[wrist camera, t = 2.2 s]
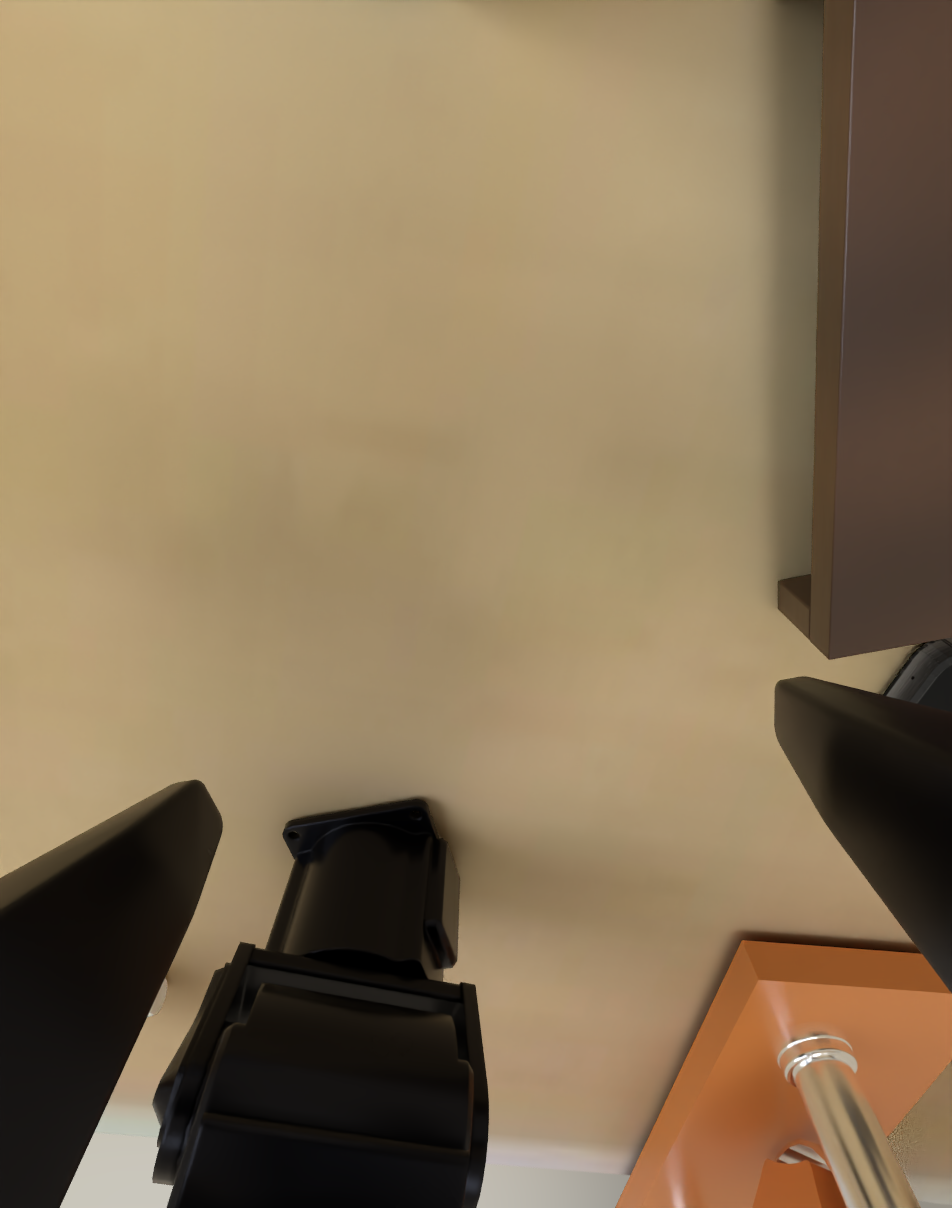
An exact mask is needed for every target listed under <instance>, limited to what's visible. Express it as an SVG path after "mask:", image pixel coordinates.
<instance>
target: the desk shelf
mask: <svg viewBox="0 0 952 1208" xmlns="http://www.w3.org/2000/svg"><path fill="white" fill-rule="evenodd" d="M778 609H779V610H780V611H781V612H782V613H783V614H784V615H785V616H786V617H787V618H788V619H789V620H790V621H791V622H792V623H793V624H794V625H795V626H796V627H797V628H798V629H799V630H800V631H801V632H802V633H803V634H804V635H805V636H806V637H807V638H808V639H809V640H810V642H811V643H812V644H813V645H814V646H815V647H816V648H818V649H819V650H820V651H821V652H822V653H823V654H824V655H825V656H826V657H827V658H828V659H829V660H831V659H836V658H842V657H847V656H853V655H858V654H864V653H869V652H875V651H880V650H886V649H891V648H897V647H902V646H908V645H913V644H918V643H924V642H929V641H935V640H940V639H946V638H951V637H952V0H824V28H823V73H822V119H821V164H820V209H819V254H818V300H817V345H816V390H815V435H814V480H813V526H812V571H811V574H810V575H805V576H800V577H795V578H790V579H785V580H780V581H778Z"/></svg>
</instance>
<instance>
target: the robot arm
mask: <svg viewBox="0 0 952 1208" xmlns="http://www.w3.org/2000/svg"><path fill="white" fill-rule="evenodd" d="M774 726H775V732H776V736H777V739H778V742H779V744H780V746H781V747H782V749H783V751H784V753H785V754H786V756H787V758H788V760H789V761H790V763H791V765H792V767H793V768H794V770H795V772H796V774H797V775H798V777H799V779H800V781H801V783H802V784H803V786H804V788H805V790H806V791H807V793H808V795H809V797H810V798H811V800H812V802H813V804H814V805H815V807H816V809H817V810H818V812H819V814H820V815H821V817H822V819H823V820H824V822H825V823H826V825H827V826H828V828H829V829H830V830H831V832H832V833H833V835H834V836H835V837H836V839H837V840H838V841H839V843H840V844H841V846H842V847H843V848H844V850H845V851H846V852H847V854H848V855H849V856H850V858H851V859H852V860H853V862H854V863H855V864H856V866H857V867H858V868H859V870H860V871H861V872H862V874H863V875H864V876H865V878H866V879H867V880H868V882H869V883H870V885H871V886H872V887H873V889H874V890H875V891H876V893H877V894H878V895H879V897H880V898H881V899H882V901H883V902H884V903H885V905H886V906H887V907H888V909H889V910H890V911H891V913H892V914H893V915H894V917H895V918H896V920H897V921H898V922H899V924H900V925H901V926H902V928H903V929H904V930H905V932H906V933H907V934H908V936H909V937H910V938H911V940H912V941H913V942H914V944H915V945H916V946H917V948H918V949H919V950H920V952H921V953H922V954H923V956H924V957H925V959H926V960H927V961H928V963H929V964H930V965H931V967H932V968H933V969H934V971H935V972H936V973H937V975H938V976H939V977H940V979H941V980H942V981H943V983H944V984H945V985H946V987H947V988H948V989H949V991H950V992H951V993H952V712H949V711H945V710H941V709H937V708H933V707H929V706H925V705H921V704H917V703H913V702H909V701H904V700H900V699H896V698H892V697H888V696H884V695H880V694H876V693H872V692H868V691H864V690H860V689H856V688H851V687H847V686H843V685H839V684H835V683H831V682H827V681H823V680H819V679H815V678H811V677H803V676H802V677H796V678H790V679H784V680H780V681H778V682H777V684H776V686H775V712H774ZM414 811H419V812H414ZM222 828H223V823H222V818H221V815H220V813H219V811H218V809H217V807H216V805H215V803H214V802H213V800H212V798H211V796H210V794H209V792H208V791H207V789H206V787H205V785H204V784H203V783H202V782H201V781H199V780H190V781H184V782H178V783H175V784H172V785H170V786H168V787H166V788H164V789H163V790H161V791H159V792H157V793H155V794H153V795H152V796H150V797H148V798H146V799H144V800H142V801H141V802H139V803H137V804H135V805H133V806H131V807H130V808H128V809H126V810H124V811H122V812H121V813H119V814H117V815H115V816H113V817H111V818H110V819H108V820H106V821H104V822H102V823H100V824H99V825H97V826H95V827H93V828H91V829H89V830H88V831H86V832H84V833H82V834H80V835H78V836H77V837H75V838H73V839H71V840H69V841H67V842H66V843H64V844H62V845H60V846H58V847H56V848H55V849H53V850H51V851H49V852H47V853H46V854H44V855H42V856H40V857H38V858H36V859H35V860H33V861H31V862H29V863H27V864H25V865H24V866H22V867H20V868H18V869H16V870H14V871H13V872H11V873H9V874H7V875H5V876H3V877H2V878H0V1208H60V1205H61V1203H62V1201H63V1199H64V1197H65V1195H66V1192H67V1190H68V1188H69V1186H70V1184H71V1182H72V1179H73V1177H74V1175H75V1173H76V1171H77V1168H78V1166H79V1164H80V1162H81V1159H82V1158H83V1155H84V1153H85V1151H86V1149H87V1146H88V1145H89V1142H90V1140H91V1138H92V1136H93V1134H94V1131H95V1129H96V1127H97V1125H98V1123H99V1121H100V1118H101V1116H102V1114H103V1112H104V1110H105V1107H106V1105H107V1103H108V1101H109V1099H110V1097H111V1094H112V1092H113V1090H114V1088H115V1086H116V1084H117V1081H118V1079H119V1077H120V1075H121V1073H122V1070H123V1068H124V1066H125V1064H126V1062H127V1060H128V1057H129V1055H130V1053H131V1051H132V1049H133V1046H134V1044H135V1042H136V1040H137V1038H138V1036H139V1033H140V1031H141V1029H142V1027H143V1025H144V1023H145V1020H146V1018H147V1016H148V1014H149V1012H150V1009H151V1007H152V1005H153V1003H154V1001H155V999H156V996H157V994H158V992H159V990H160V988H161V986H162V983H163V981H164V979H165V977H166V975H167V972H168V970H169V968H170V966H171V964H172V962H173V959H174V957H175V955H176V953H177V951H178V948H179V946H180V944H181V942H182V940H183V938H184V935H185V933H186V931H187V929H188V926H189V924H190V922H191V920H192V917H193V915H194V912H195V909H196V907H197V904H198V901H199V899H200V896H201V893H202V890H203V887H204V884H205V881H206V878H207V875H208V872H209V870H210V867H211V864H212V861H213V858H214V855H215V852H216V849H217V846H218V843H219V841H220V838H221V834H222ZM293 831H295V832H293ZM296 832H297V833H296ZM282 835H283V838H284V840H285V842H286V844H287V846H288V848H289V850H290V852H291V854H292V856H293V857H294V859H295V862H294V865H293V868H292V871H291V874H290V877H289V880H288V883H287V886H286V889H285V892H284V895H283V898H282V901H281V904H280V907H279V910H278V913H277V916H276V919H275V922H274V925H273V928H272V931H271V934H270V937H269V939H268V942H267V945H266V948H265V949H260V948H255V944H249V943H244V942H240V944H239V946H238V948H237V951H236V953H235V955H234V958H233V960H232V962H231V963H227V962H226V964H225V966H224V968H221V969H219V970H216V971H215V972H214V975H213V977H212V980H211V982H210V985H209V987H208V990H207V992H206V995H205V997H204V1000H203V1002H202V1005H201V1007H200V1009H199V1012H198V1014H197V1016H196V1018H195V1020H194V1022H193V1024H192V1026H191V1028H190V1030H189V1032H188V1033H187V1035H186V1037H185V1039H184V1040H183V1042H182V1044H181V1046H180V1047H179V1049H178V1051H177V1052H176V1054H175V1056H174V1058H173V1059H172V1061H171V1063H170V1065H169V1066H168V1068H167V1070H166V1072H165V1073H164V1075H163V1077H162V1079H161V1081H160V1083H159V1085H158V1088H157V1090H156V1093H155V1096H154V1099H153V1104H152V1105H153V1108H154V1110H155V1113H156V1116H157V1118H158V1121H159V1124H160V1126H161V1128H160V1132H159V1136H158V1140H157V1147H159V1151H158V1154H157V1158H156V1163H155V1167H154V1172H153V1178H152V1179H153V1183H158V1184H166V1185H174V1186H173V1189H172V1192H171V1196H170V1199H169V1202H168V1205H167V1208H476V1206H477V1203H478V1200H479V1197H480V1192H481V1187H482V1182H483V1176H484V1169H485V1163H486V1154H487V1143H488V1125H489V1099H488V1086H487V1077H486V1069H485V1061H484V1053H483V1044H482V1036H481V1028H480V1020H479V1011H478V1003H477V995H476V987H475V985H474V984H468V983H463V982H461V983H460V984H459V985H458V984H453V983H447V982H443V971H444V969H446V968H452V967H453V966H454V965H455V963H456V962H457V954H458V924H459V894H460V877H459V874H458V871H457V868H456V866H455V863H454V860H453V857H452V854H451V851H450V848H449V845H448V842H447V841H445V840H444V839H443V838H439V835H438V832H437V830H436V827H435V824H434V821H433V818H432V815H431V813H430V810H429V807H428V805H427V804H426V803H425V802H424V801H422V800H419V799H414V800H408V801H402V802H396V803H390V804H385V805H379V806H373V807H367V808H361V809H355V810H350V811H344V812H338V813H332V814H326V815H320V816H314V817H309V818H303V819H297V820H292V821H289V822H288V823H287V824H286V826H285V828H284V831H283V834H282Z"/></svg>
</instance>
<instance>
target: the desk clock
mask: <svg viewBox="0 0 952 1208" xmlns="http://www.w3.org/2000/svg"><path fill="white" fill-rule="evenodd" d="M951 1060H952V993H951V992H950V991H949V989H948V988H947V987H946V985H945V984H944V983H943V981H942V980H941V979H940V977H939V976H938V975H937V973H936V972H935V971H934V969H933V968H932V967H931V965H930V964H929V963H928V961H927V960H926V959H925V957H924V956H923V954H917V953H905V952H892V951H879V950H865V949H852V948H838V947H825V946H812V945H798V944H785V943H772V942H758V941H745V940H742V941H741V944H740V946H739V948H738V950H737V952H736V954H735V956H734V958H733V960H732V963H731V965H730V967H729V969H728V971H727V973H726V975H725V977H724V979H723V981H722V984H721V986H720V988H719V990H718V992H717V994H716V996H715V998H714V1000H713V1003H712V1005H711V1007H710V1009H709V1011H708V1013H707V1015H706V1017H705V1019H704V1022H703V1024H702V1026H701V1028H700V1030H699V1032H698V1034H697V1036H696V1038H695V1041H694V1043H693V1045H692V1047H691V1049H690V1051H689V1053H688V1055H687V1057H686V1060H685V1062H684V1064H683V1066H682V1068H681V1070H680V1072H679V1074H678V1076H677V1078H676V1081H675V1083H674V1085H673V1087H672V1089H671V1091H670V1093H669V1095H668V1097H667V1100H666V1102H665V1104H664V1106H663V1108H662V1110H661V1112H660V1114H659V1116H658V1119H657V1121H656V1123H655V1125H654V1127H653V1129H652V1131H651V1133H650V1135H649V1138H648V1140H647V1142H646V1144H645V1146H644V1148H643V1150H642V1152H641V1154H640V1156H639V1159H638V1161H637V1163H636V1165H635V1167H634V1169H633V1171H632V1173H631V1175H630V1178H629V1180H628V1182H627V1184H626V1186H625V1188H624V1190H623V1192H622V1194H621V1197H620V1199H619V1201H618V1203H617V1205H616V1207H615V1208H921V1207H920V1205H919V1203H918V1201H917V1199H916V1197H915V1195H914V1193H913V1191H912V1189H911V1187H910V1184H909V1182H908V1180H907V1178H906V1176H905V1174H904V1172H903V1170H902V1168H901V1166H900V1164H899V1162H898V1160H897V1158H896V1156H895V1154H894V1152H893V1150H892V1148H891V1146H890V1144H889V1142H888V1140H887V1137H888V1136H889V1135H890V1133H891V1132H892V1131H893V1130H894V1129H895V1127H896V1126H897V1125H898V1124H899V1123H900V1121H901V1120H902V1119H903V1118H904V1117H905V1115H906V1114H907V1113H908V1112H909V1111H910V1109H911V1108H912V1107H913V1106H914V1105H915V1103H916V1102H917V1101H918V1100H919V1099H920V1097H921V1096H922V1095H923V1094H924V1093H925V1091H926V1090H927V1089H928V1088H929V1087H930V1085H931V1084H932V1083H933V1082H934V1081H935V1079H936V1078H937V1077H938V1076H939V1075H940V1073H941V1072H942V1071H943V1070H944V1069H945V1067H946V1066H947V1065H948V1064H949V1063H950V1061H951Z"/></svg>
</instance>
